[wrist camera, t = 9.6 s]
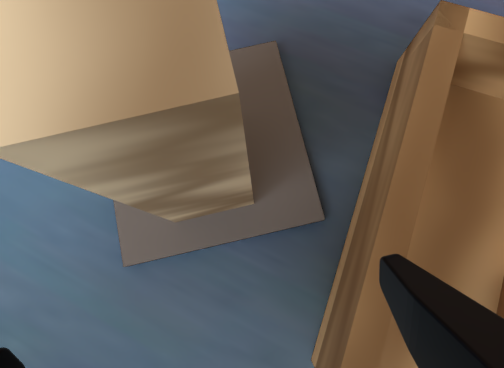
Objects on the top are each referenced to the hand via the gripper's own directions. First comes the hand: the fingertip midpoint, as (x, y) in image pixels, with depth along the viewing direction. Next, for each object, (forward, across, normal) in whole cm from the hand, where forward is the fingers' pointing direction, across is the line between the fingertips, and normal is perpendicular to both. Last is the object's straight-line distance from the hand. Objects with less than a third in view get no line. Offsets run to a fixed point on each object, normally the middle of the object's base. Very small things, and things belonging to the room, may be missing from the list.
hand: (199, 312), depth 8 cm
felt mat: (+11, 0, +1) cm, 11 cm away
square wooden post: (+10, 0, +2) cm, 10 cm away
